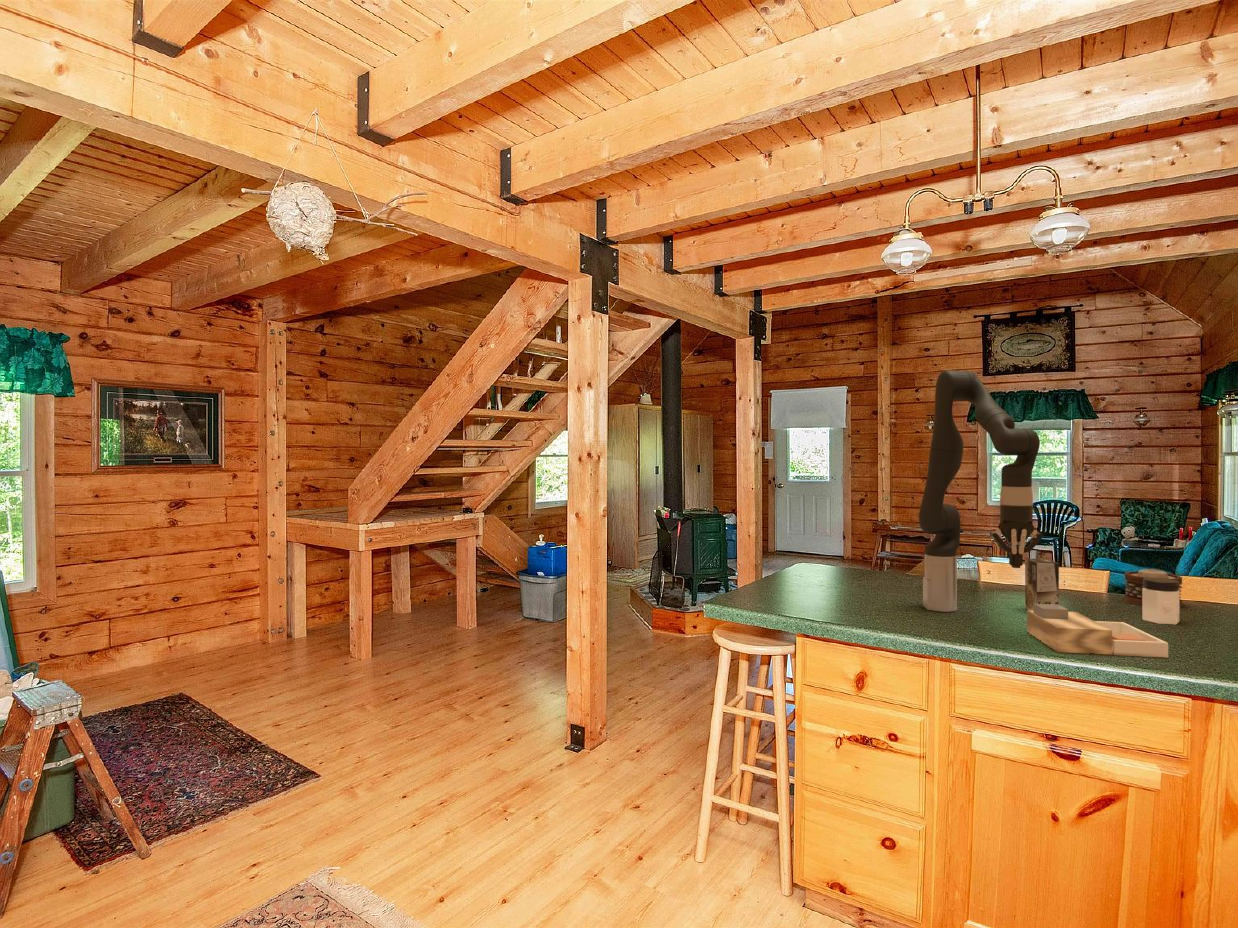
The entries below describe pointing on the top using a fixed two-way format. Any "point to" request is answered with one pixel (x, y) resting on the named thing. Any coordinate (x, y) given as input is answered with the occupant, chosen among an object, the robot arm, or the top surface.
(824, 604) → the top surface
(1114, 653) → the box
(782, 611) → the top surface
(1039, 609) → the slate tile
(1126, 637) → the terracotta tile
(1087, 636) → the board
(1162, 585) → the jar
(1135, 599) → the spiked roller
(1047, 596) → the coffee box
